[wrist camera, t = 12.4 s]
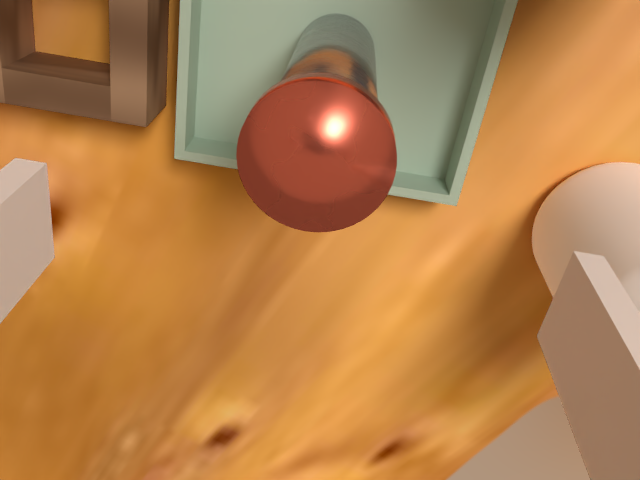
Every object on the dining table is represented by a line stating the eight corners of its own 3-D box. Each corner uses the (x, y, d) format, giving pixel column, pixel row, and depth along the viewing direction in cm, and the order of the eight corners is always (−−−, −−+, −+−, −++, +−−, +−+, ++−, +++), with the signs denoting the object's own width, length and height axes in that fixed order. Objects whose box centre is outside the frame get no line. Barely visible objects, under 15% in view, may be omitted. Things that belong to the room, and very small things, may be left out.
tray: (198, -112, 32) (184, -112, 30) (519, -55, 33) (533, -50, 30) (186, 140, 39) (174, 158, 37) (450, 185, 40) (456, 206, 37)
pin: (294, -6, 34) (244, 67, 20) (394, 12, 34) (413, 97, 20) (281, 93, 37) (229, 218, 23) (374, 109, 37) (378, 243, 23)
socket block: (-14, -105, 33) (-58, -105, 30) (170, -73, 33) (148, -68, 30) (5, 78, 38) (-31, 97, 35) (166, 105, 38) (146, 127, 35)
